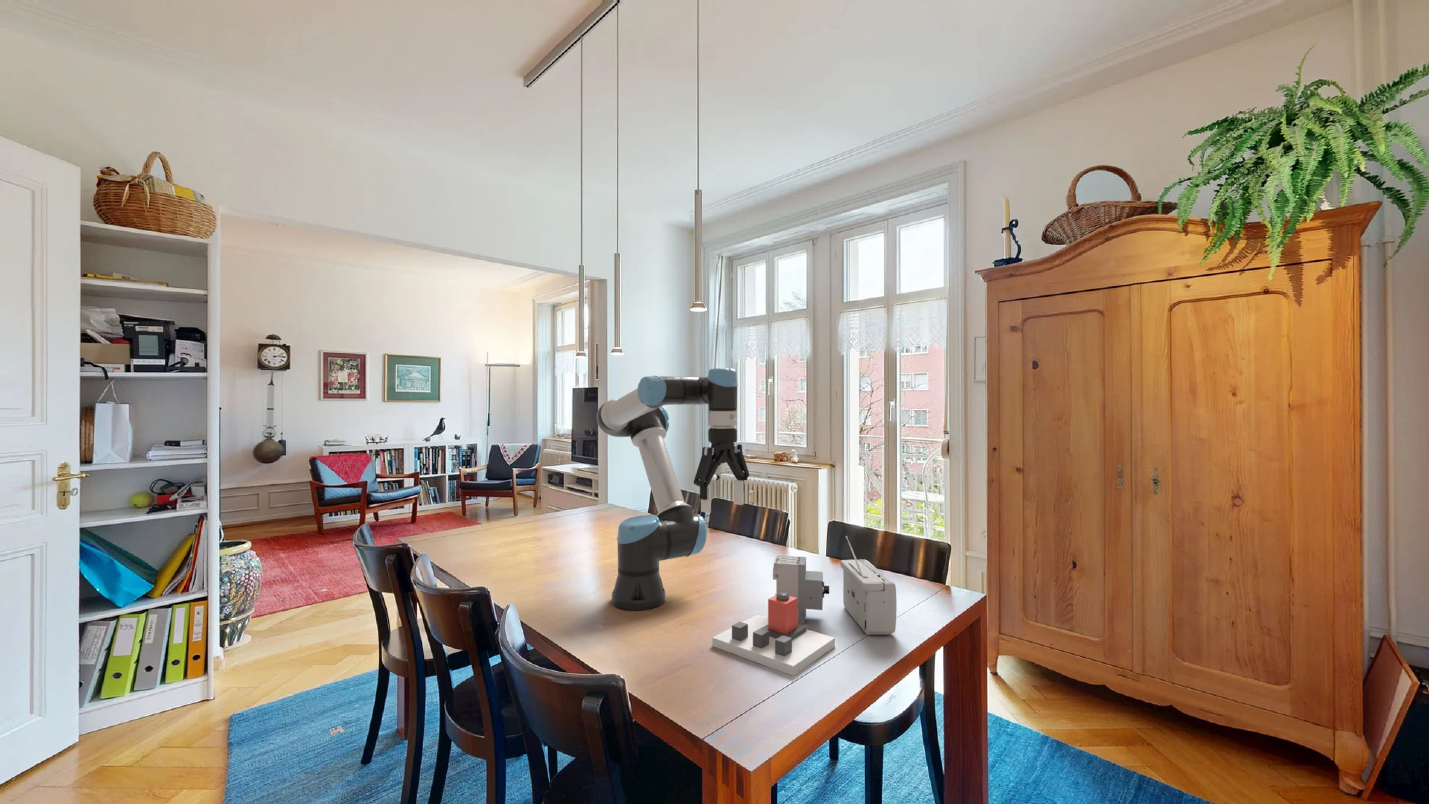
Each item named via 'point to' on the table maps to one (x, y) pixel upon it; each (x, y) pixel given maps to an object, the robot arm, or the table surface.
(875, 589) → the stereo radio cassette player
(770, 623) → the cap
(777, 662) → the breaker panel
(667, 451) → the robot arm
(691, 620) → the table surface
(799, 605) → the circuit breaker
